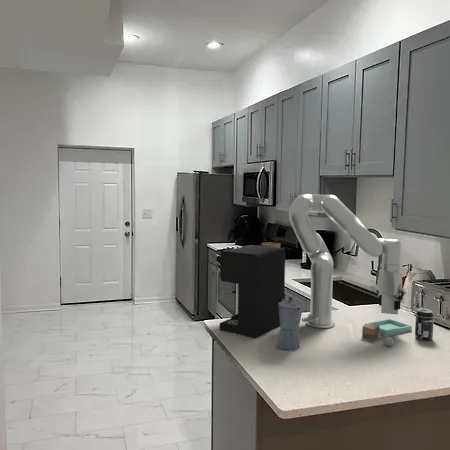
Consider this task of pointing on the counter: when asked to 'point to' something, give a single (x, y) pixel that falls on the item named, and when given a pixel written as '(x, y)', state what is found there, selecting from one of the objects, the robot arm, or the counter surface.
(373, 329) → the walnut block
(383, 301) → the white box
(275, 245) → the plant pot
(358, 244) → the robot arm
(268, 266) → the coffee maker
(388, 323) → the tray
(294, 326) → the moka pot
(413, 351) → the counter surface
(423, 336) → the beverage can
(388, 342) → the grey ball
